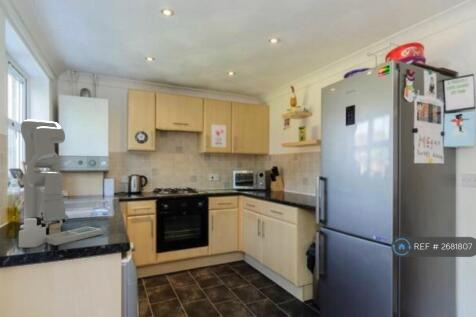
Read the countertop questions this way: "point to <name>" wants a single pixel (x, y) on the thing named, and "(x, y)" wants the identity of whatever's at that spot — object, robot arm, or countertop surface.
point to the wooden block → (54, 227)
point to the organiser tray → (72, 235)
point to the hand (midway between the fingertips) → (52, 234)
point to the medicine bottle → (32, 233)
